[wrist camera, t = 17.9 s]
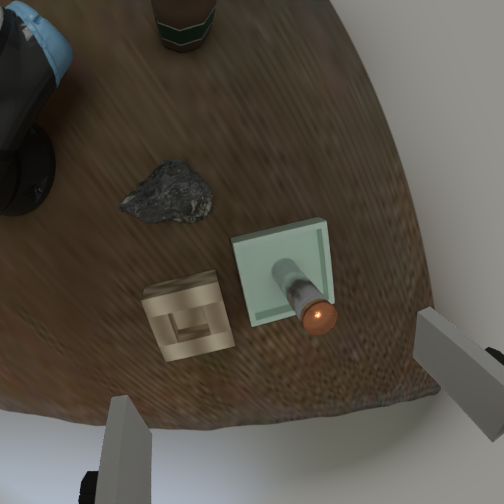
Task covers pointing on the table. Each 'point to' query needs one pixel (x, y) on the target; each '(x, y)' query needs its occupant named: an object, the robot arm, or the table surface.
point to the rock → (170, 195)
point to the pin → (304, 297)
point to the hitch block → (188, 316)
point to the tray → (273, 249)
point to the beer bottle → (183, 22)
